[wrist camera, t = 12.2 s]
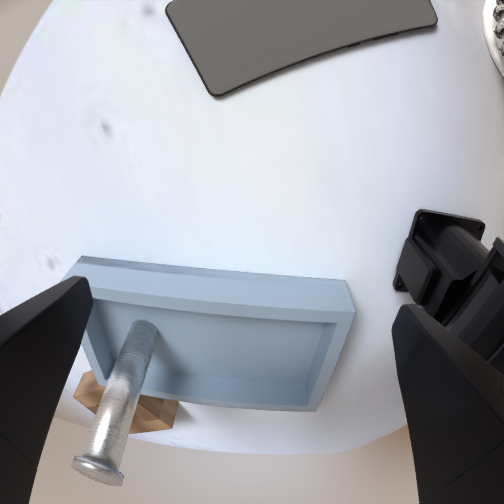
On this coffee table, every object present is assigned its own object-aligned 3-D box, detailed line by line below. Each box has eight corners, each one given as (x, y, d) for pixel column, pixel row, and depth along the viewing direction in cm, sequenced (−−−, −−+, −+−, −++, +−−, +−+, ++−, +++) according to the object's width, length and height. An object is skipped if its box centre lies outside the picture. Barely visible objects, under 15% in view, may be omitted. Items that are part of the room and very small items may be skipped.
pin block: (127, 358, 28) (116, 385, 25) (178, 402, 31) (172, 428, 28) (83, 373, 30) (72, 396, 27) (131, 411, 34) (123, 434, 31)
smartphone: (160, 6, 13) (393, -67, 9) (165, 9, 14) (388, -62, 10) (211, 101, 16) (442, 25, 12) (214, 100, 17) (435, 26, 13)
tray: (345, 280, 22) (355, 312, 19) (312, 381, 28) (315, 411, 25) (81, 255, 22) (60, 281, 19) (110, 358, 28) (98, 384, 25)
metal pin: (164, 322, 24) (119, 477, 13) (162, 347, 25) (124, 490, 14) (126, 312, 23) (66, 458, 12) (127, 338, 25) (77, 473, 14)
